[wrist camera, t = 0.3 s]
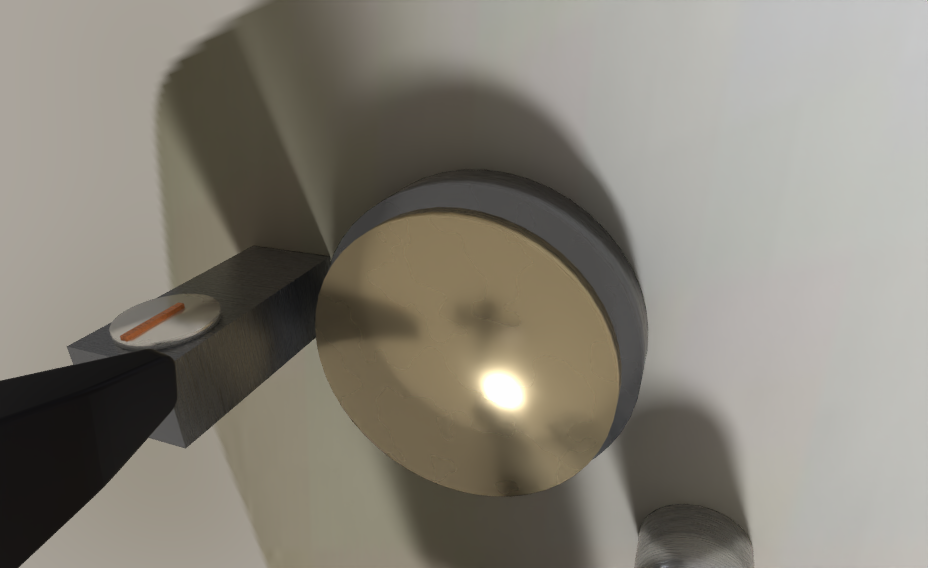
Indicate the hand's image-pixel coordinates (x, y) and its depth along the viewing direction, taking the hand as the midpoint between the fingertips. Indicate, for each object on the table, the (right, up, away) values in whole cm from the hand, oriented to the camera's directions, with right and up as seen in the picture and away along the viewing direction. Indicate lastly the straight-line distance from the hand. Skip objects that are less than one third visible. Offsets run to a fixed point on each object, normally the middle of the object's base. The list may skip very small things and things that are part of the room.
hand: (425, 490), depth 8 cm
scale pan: (0, 0, +13) cm, 13 cm away
